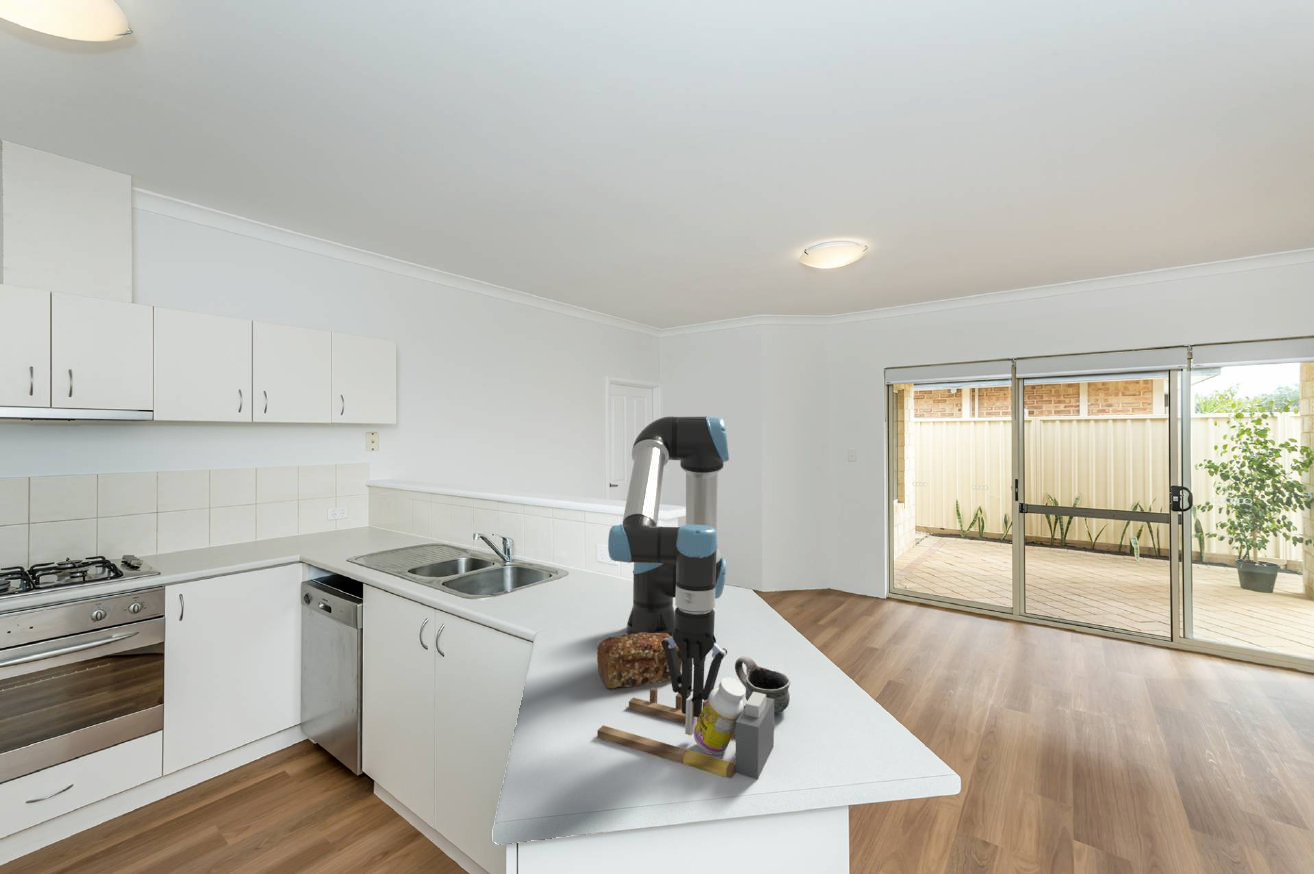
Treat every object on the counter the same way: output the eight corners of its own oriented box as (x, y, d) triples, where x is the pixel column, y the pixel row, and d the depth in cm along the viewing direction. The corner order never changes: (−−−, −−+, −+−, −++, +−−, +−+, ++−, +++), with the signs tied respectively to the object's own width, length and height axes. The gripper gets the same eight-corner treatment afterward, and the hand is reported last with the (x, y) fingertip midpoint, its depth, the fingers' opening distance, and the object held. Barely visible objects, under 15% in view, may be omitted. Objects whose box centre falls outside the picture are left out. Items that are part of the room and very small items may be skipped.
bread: (606, 692, 124) (607, 648, 124) (595, 672, 134) (596, 632, 134) (683, 680, 131) (683, 639, 131) (667, 662, 141) (667, 623, 141)
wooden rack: (597, 738, 106) (597, 717, 106) (636, 701, 120) (636, 683, 120) (731, 778, 94) (732, 755, 94) (757, 732, 108) (757, 712, 108)
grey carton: (733, 772, 96) (734, 709, 96) (751, 740, 106) (752, 683, 106) (757, 779, 94) (758, 715, 94) (773, 746, 104) (774, 688, 104)
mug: (780, 728, 110) (781, 678, 110) (723, 710, 117) (724, 663, 117) (796, 707, 119) (796, 661, 118) (742, 692, 125) (742, 648, 125)
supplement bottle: (691, 723, 106) (714, 668, 103) (724, 733, 107) (748, 679, 103) (692, 750, 100) (717, 693, 97) (727, 761, 100) (752, 704, 97)
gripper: (655, 607, 104) (652, 731, 104) (720, 620, 98) (716, 751, 99) (672, 597, 111) (668, 713, 111) (733, 608, 105) (729, 730, 105)
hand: (691, 731), depth 105 cm, fingers closed
